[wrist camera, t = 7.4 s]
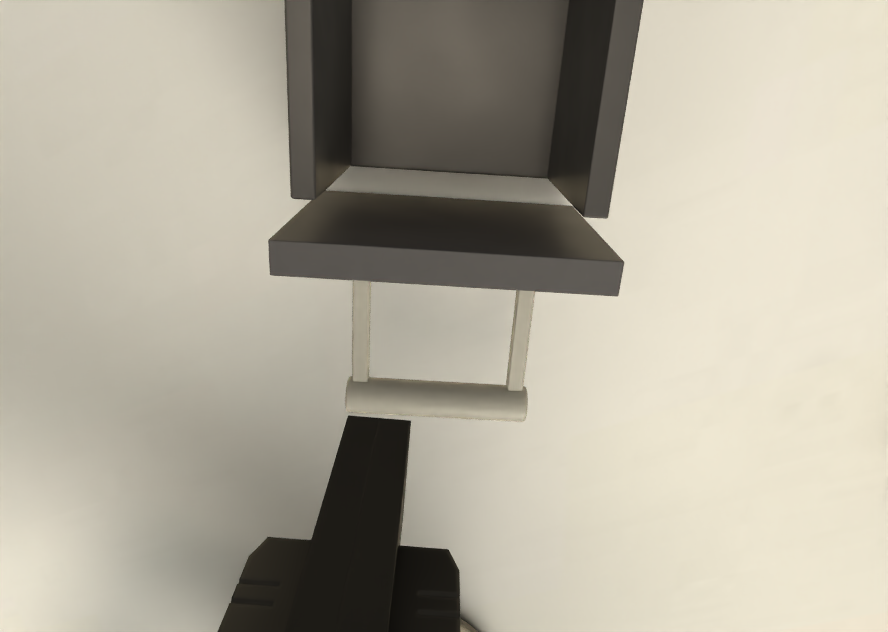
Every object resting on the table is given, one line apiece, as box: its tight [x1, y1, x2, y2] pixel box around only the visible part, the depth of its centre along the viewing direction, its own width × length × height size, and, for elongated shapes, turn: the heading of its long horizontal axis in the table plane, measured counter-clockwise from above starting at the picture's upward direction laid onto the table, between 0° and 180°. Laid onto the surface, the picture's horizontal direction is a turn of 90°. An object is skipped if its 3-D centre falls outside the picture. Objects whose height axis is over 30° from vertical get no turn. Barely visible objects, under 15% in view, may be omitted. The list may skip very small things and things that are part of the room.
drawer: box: [268, 0, 644, 422], centre depth 22 cm, size 21×11×9 cm, turn 176°
